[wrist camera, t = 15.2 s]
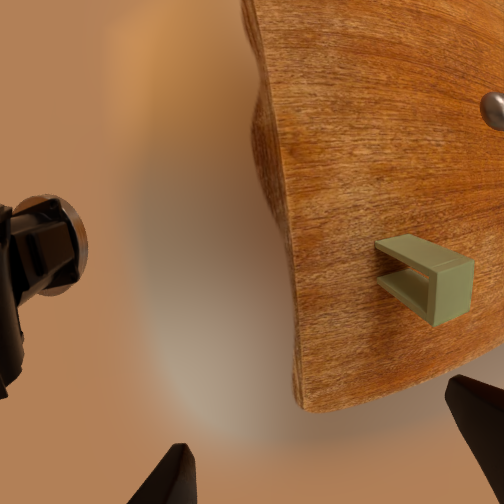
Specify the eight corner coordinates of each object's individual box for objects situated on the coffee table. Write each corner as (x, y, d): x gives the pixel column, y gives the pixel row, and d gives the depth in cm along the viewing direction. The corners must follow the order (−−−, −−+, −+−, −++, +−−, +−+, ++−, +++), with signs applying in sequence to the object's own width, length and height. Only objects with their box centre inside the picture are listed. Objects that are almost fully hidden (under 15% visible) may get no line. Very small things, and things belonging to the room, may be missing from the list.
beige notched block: (376, 283, 20) (433, 327, 13) (374, 241, 19) (437, 272, 12) (409, 274, 20) (469, 311, 13) (408, 233, 19) (475, 259, 12)
